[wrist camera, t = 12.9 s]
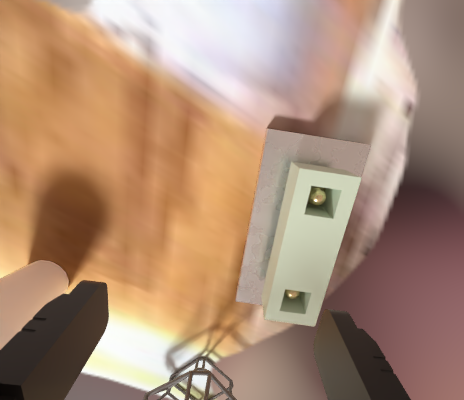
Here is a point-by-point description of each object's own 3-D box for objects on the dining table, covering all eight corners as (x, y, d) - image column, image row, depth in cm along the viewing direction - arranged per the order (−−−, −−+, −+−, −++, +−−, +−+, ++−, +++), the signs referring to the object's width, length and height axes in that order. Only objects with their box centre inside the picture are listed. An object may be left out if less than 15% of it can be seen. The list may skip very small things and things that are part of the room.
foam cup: (86, 302, 38) (13, 390, 26) (29, 306, 39) (-70, 394, 26) (68, 247, 35) (-24, 316, 23) (6, 252, 36) (-116, 322, 24)
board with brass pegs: (266, 128, 30) (273, 130, 24) (364, 143, 30) (397, 149, 24) (235, 294, 37) (235, 329, 31) (314, 305, 37) (330, 342, 31)
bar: (291, 161, 27) (299, 168, 24) (344, 169, 28) (361, 177, 24) (261, 296, 33) (264, 319, 29) (306, 302, 33) (314, 326, 29)
